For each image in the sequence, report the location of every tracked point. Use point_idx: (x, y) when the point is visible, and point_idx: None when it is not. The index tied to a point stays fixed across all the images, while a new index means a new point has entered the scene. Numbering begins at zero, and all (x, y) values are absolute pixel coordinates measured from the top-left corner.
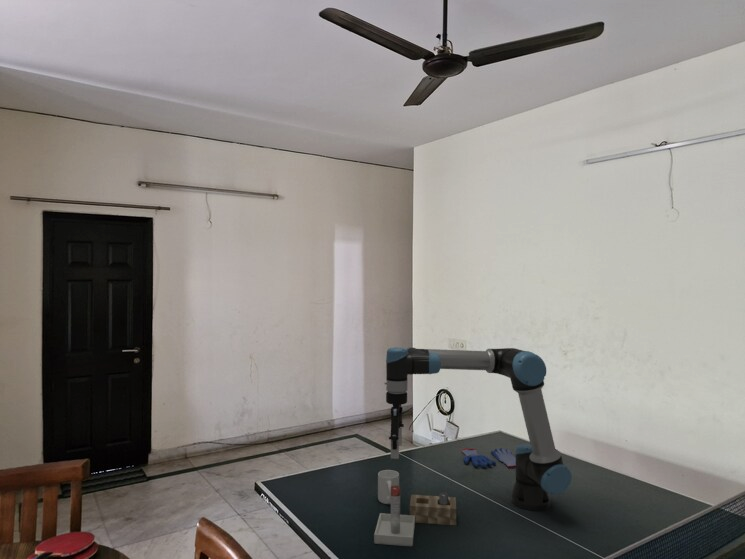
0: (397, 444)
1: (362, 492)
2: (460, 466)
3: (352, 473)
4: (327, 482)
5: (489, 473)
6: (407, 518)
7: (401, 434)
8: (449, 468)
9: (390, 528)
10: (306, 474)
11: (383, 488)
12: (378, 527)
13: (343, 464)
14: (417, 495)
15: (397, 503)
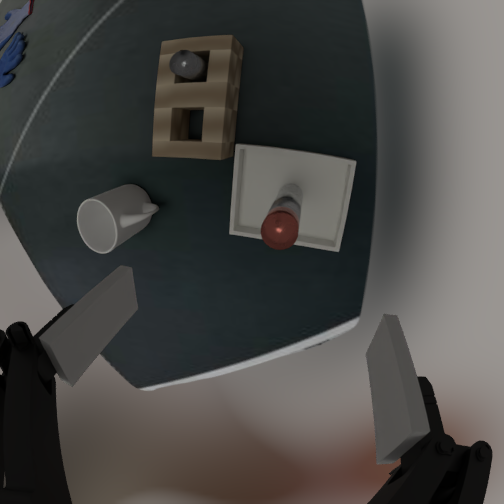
0: (416, 400)
1: (116, 259)
2: (17, 84)
3: (63, 272)
4: None
5: (38, 32)
6: (240, 163)
7: (83, 313)
8: (21, 100)
9: None
10: None
11: (133, 229)
12: None
13: (46, 284)
14: (155, 139)
15: (299, 210)
